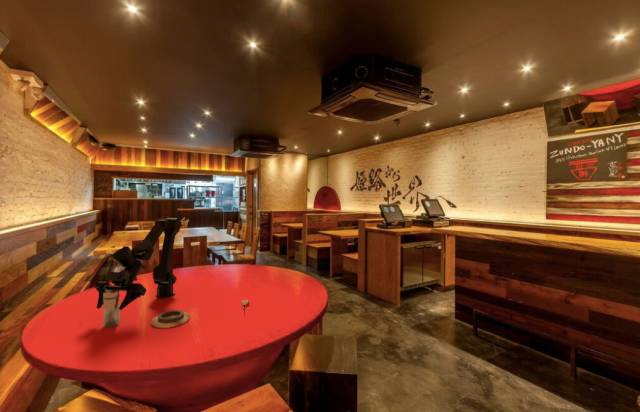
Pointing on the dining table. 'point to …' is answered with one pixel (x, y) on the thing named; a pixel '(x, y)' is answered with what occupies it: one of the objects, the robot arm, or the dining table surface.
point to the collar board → (160, 325)
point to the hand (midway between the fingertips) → (108, 309)
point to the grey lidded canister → (111, 308)
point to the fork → (244, 302)
